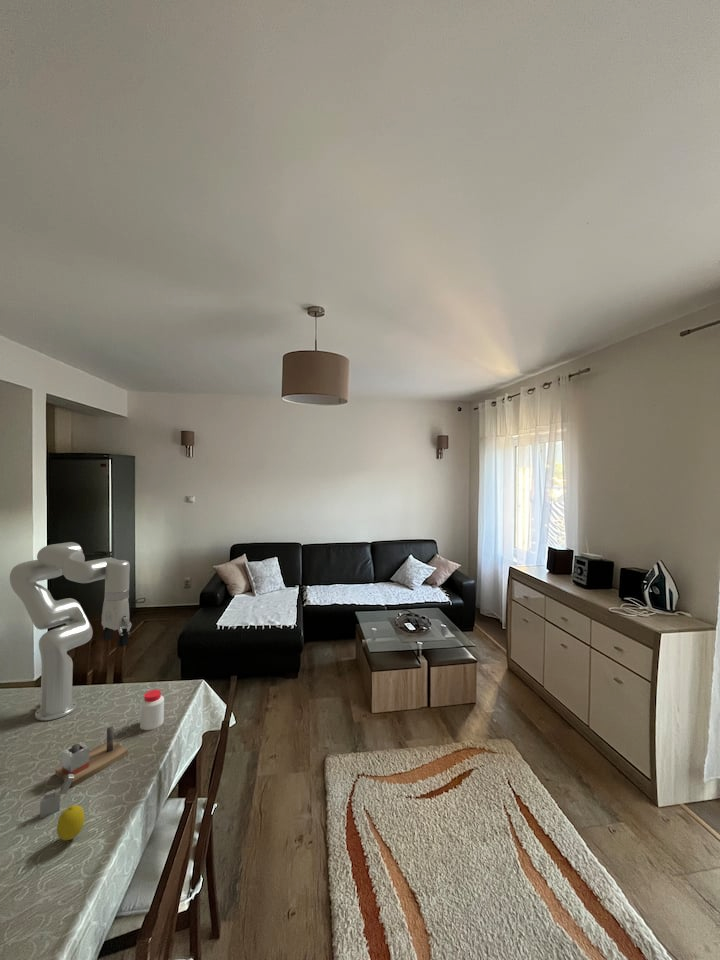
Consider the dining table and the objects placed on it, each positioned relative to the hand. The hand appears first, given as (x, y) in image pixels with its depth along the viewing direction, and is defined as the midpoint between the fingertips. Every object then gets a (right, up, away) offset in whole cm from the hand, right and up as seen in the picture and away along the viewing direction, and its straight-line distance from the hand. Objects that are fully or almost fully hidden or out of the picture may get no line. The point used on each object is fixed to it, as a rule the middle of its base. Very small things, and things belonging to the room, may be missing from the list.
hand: (115, 642), depth 143 cm
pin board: (+5, -30, -19) cm, 36 cm away
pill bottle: (+12, -31, +2) cm, 33 cm away
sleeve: (+2, -29, -23) cm, 37 cm away
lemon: (+17, -30, -45) cm, 57 cm away
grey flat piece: (+7, -30, -36) cm, 48 cm away
